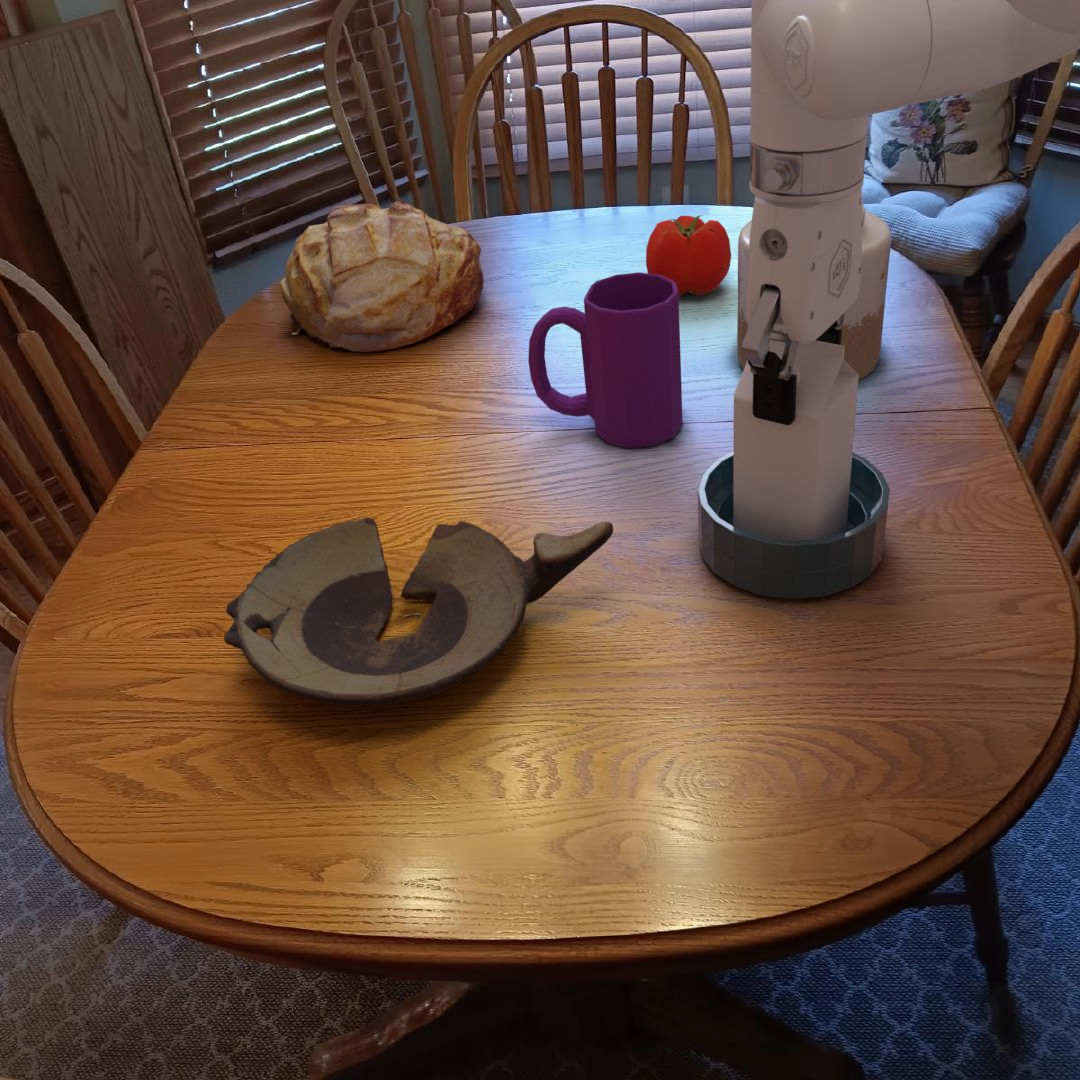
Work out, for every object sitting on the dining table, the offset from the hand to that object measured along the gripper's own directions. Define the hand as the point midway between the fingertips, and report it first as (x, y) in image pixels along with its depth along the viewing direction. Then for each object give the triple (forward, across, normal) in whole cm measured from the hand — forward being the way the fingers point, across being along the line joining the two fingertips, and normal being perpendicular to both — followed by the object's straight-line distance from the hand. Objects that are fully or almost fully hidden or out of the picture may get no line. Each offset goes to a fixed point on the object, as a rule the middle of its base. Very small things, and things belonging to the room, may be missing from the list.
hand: (796, 394), depth 81 cm
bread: (+15, +22, +68) cm, 73 cm away
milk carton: (+14, 0, 0) cm, 14 cm away
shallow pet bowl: (+15, 0, 0) cm, 15 cm away
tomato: (+15, +43, +34) cm, 57 cm away
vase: (+15, +32, +13) cm, 38 cm away
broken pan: (+15, -25, +20) cm, 35 cm away
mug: (+15, +10, +25) cm, 31 cm away
